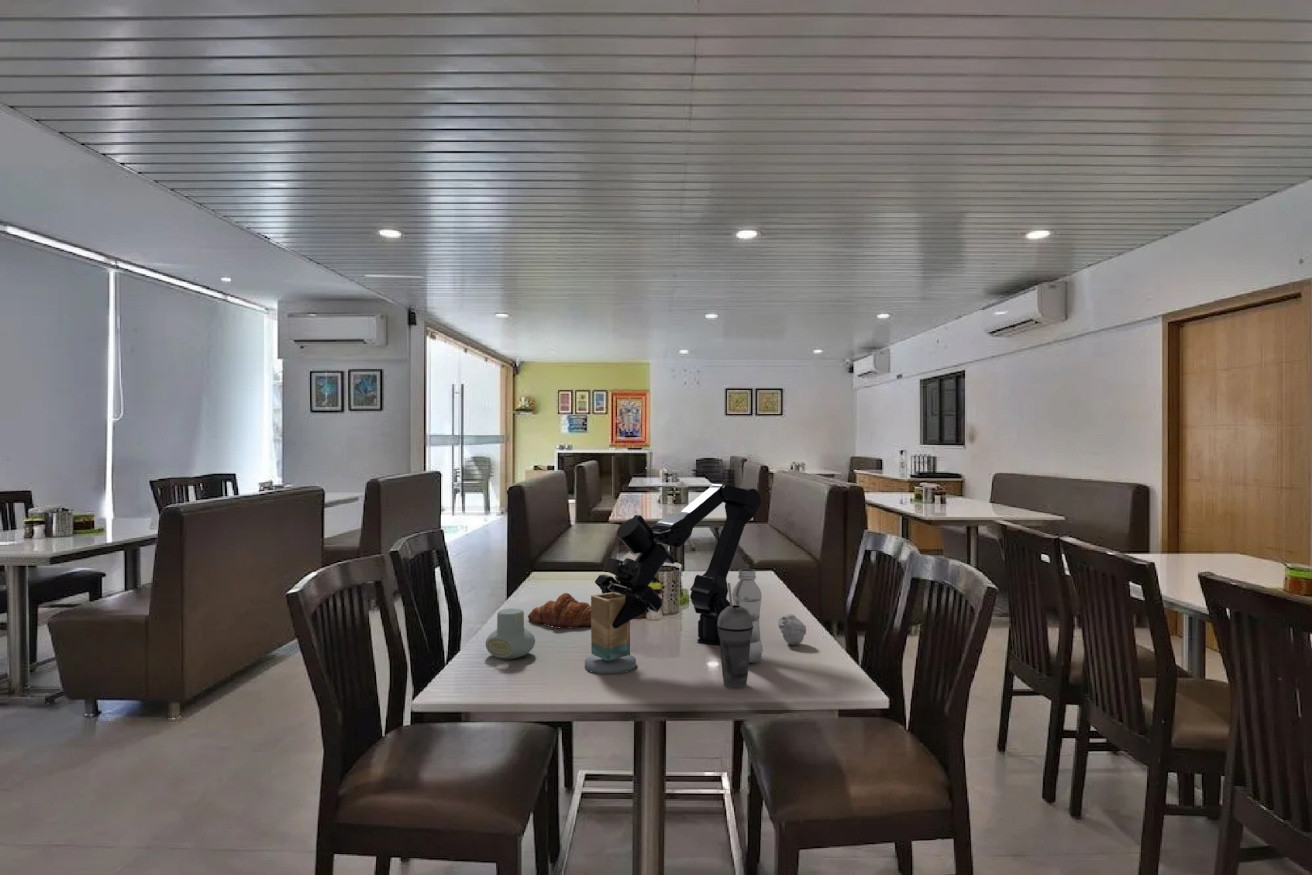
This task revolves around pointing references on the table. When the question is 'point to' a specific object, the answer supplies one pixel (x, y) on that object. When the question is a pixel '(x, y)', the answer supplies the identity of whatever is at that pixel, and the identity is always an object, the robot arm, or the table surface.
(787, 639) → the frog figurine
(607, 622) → the banded sleeve
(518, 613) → the air freshener
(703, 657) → the table surface
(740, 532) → the robot arm
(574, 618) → the pastry
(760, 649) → the plastic bottle
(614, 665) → the pin stand
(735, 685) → the beverage cup
